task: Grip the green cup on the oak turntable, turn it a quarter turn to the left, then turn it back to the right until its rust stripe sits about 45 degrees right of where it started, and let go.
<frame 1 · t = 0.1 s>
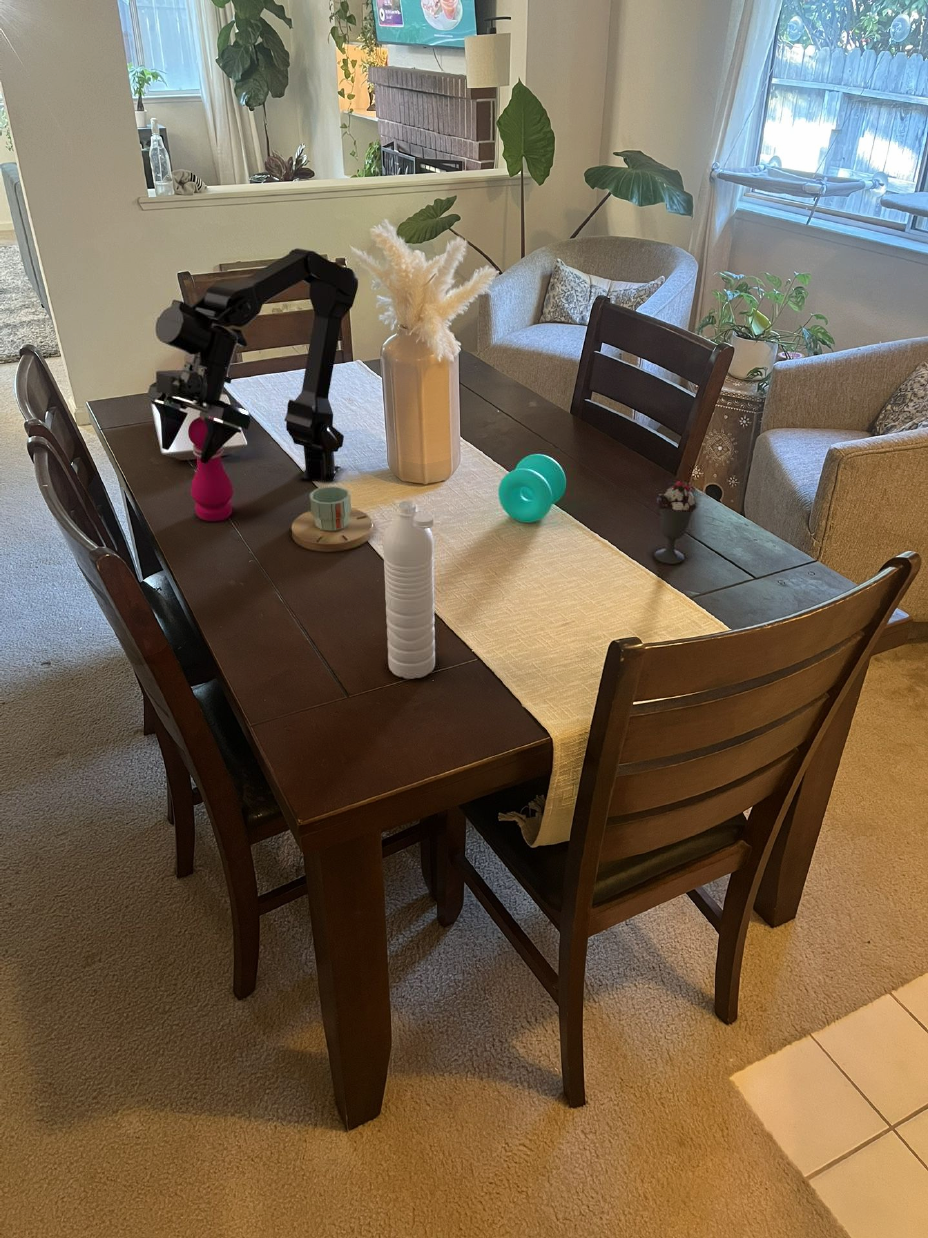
hand: (183, 455, 151), 15 cm above the table, tool tilted 35°, fingers open, 9 cm apart
teal yo-yo: (531, 514, 167), on the table
sundae: (669, 557, 154), on the table
water bottle: (415, 671, 127), on the table
green cup: (330, 509, 158), point 4 cm above the table, hinge at 0.0°
pepper mill: (214, 513, 166), on the table
turntable: (332, 532, 160), on the table
tray: (198, 436, 197), on the table
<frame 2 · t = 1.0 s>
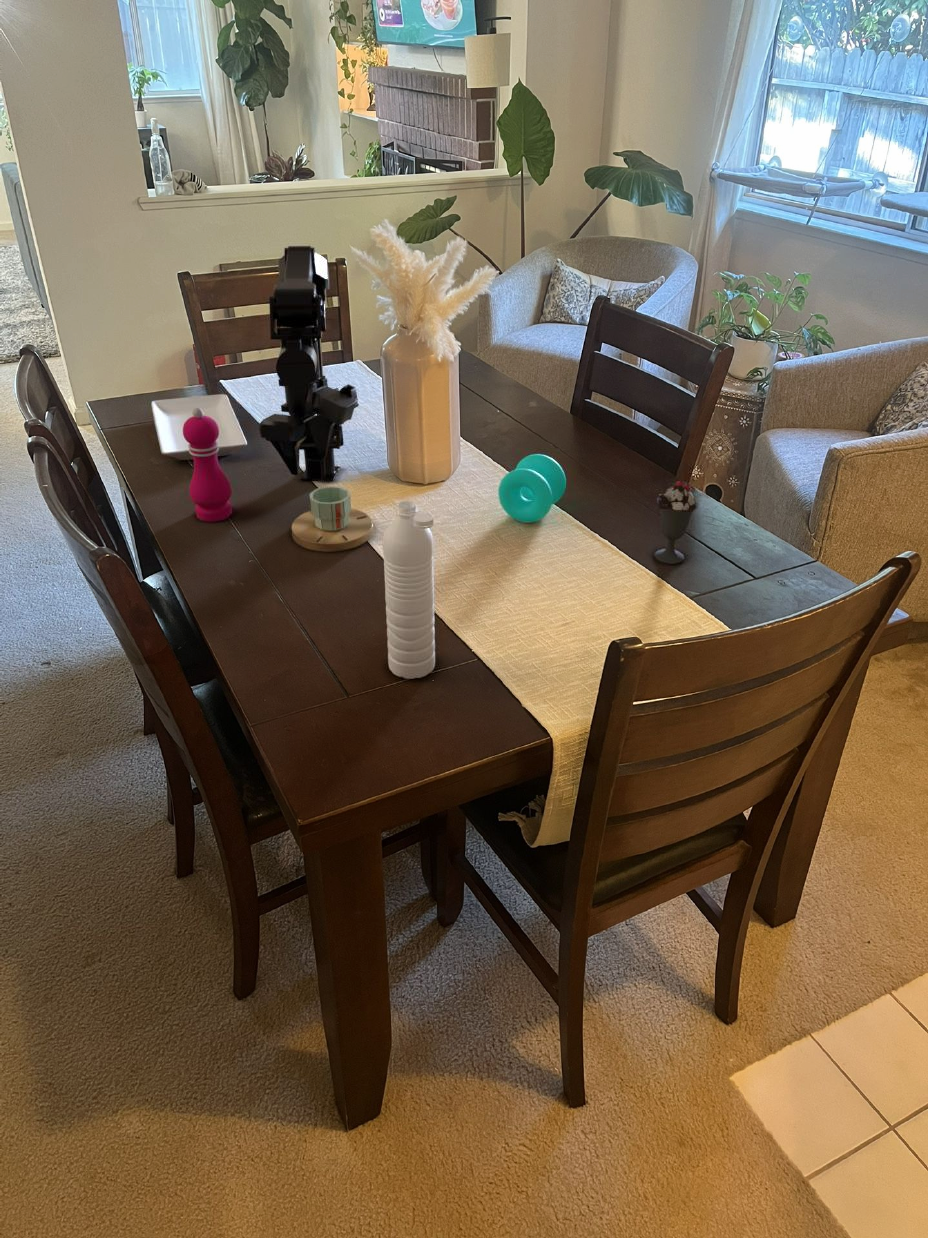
hand: (309, 465, 152), 13 cm above the table, tool pointing down, fingers open, 9 cm apart
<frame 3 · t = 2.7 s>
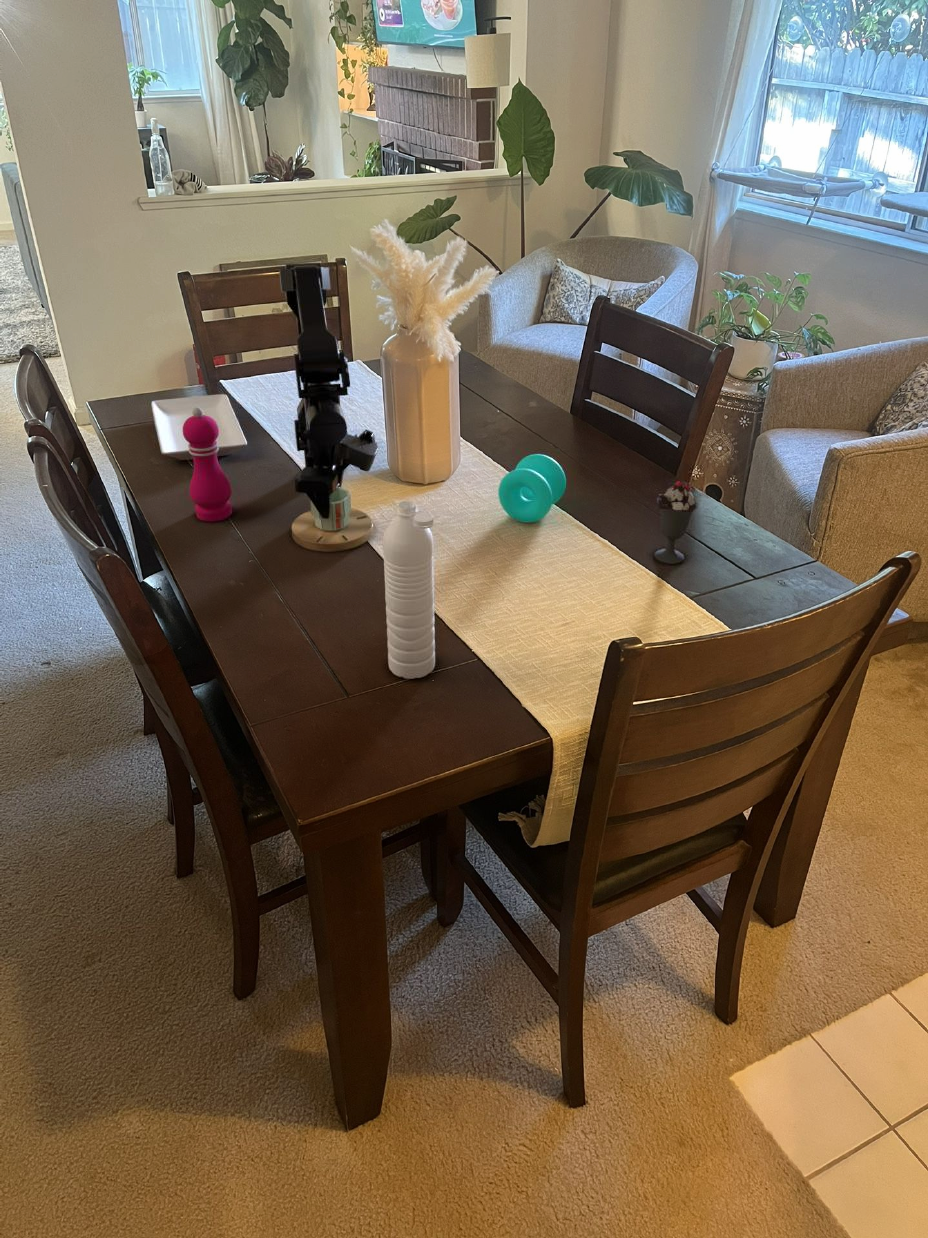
hand: (330, 508, 158), 5 cm above the table, tool pointing down, fingers closed on green cup, 7 cm apart
green cup: (330, 509, 158), point 4 cm above the table, hinge at 0.0°, touching gripper
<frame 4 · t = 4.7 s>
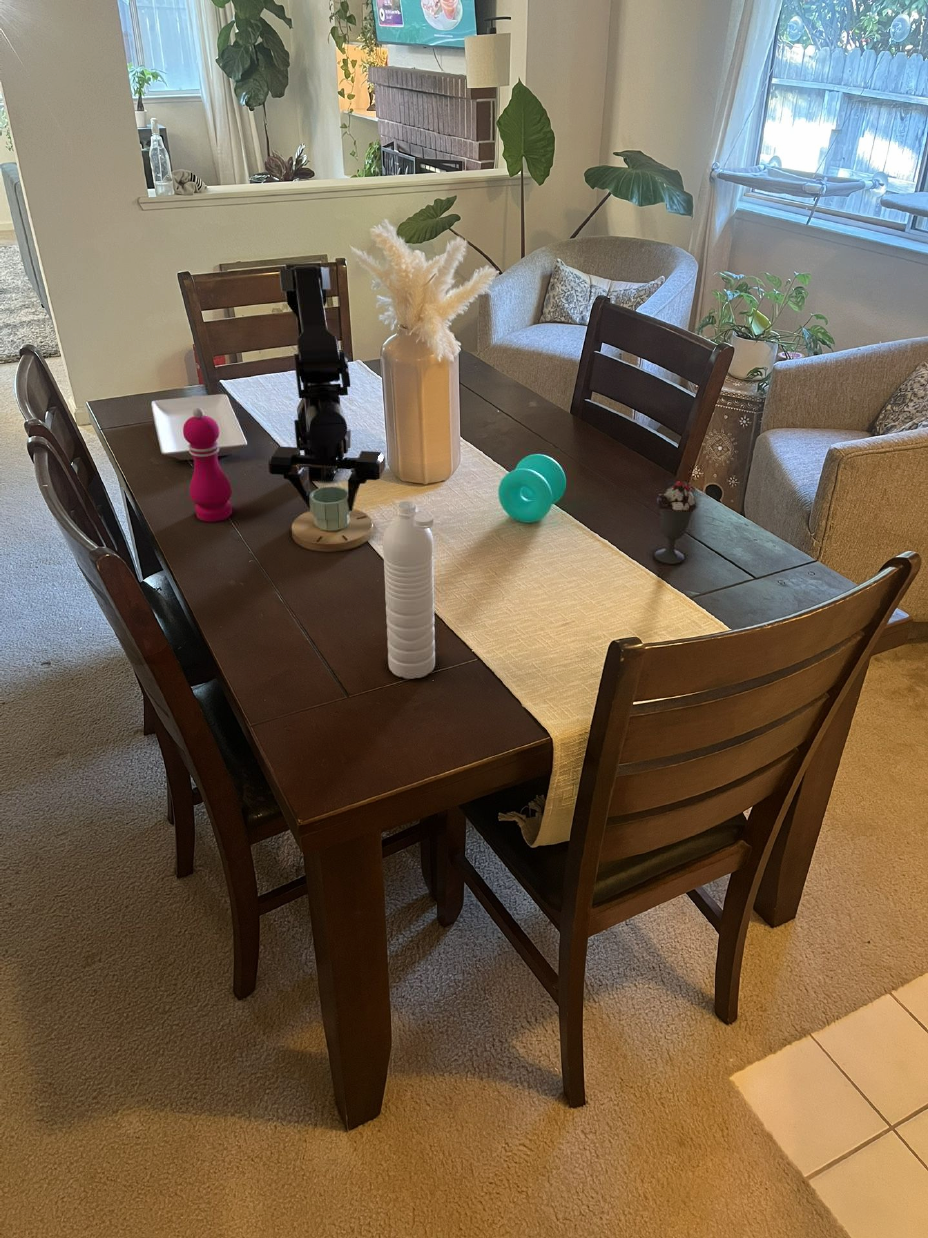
hand: (331, 508, 158), 5 cm above the table, tool pointing down, fingers closed on green cup, 7 cm apart
green cup: (330, 509, 158), point 4 cm above the table, hinge at 89.8°, touching gripper
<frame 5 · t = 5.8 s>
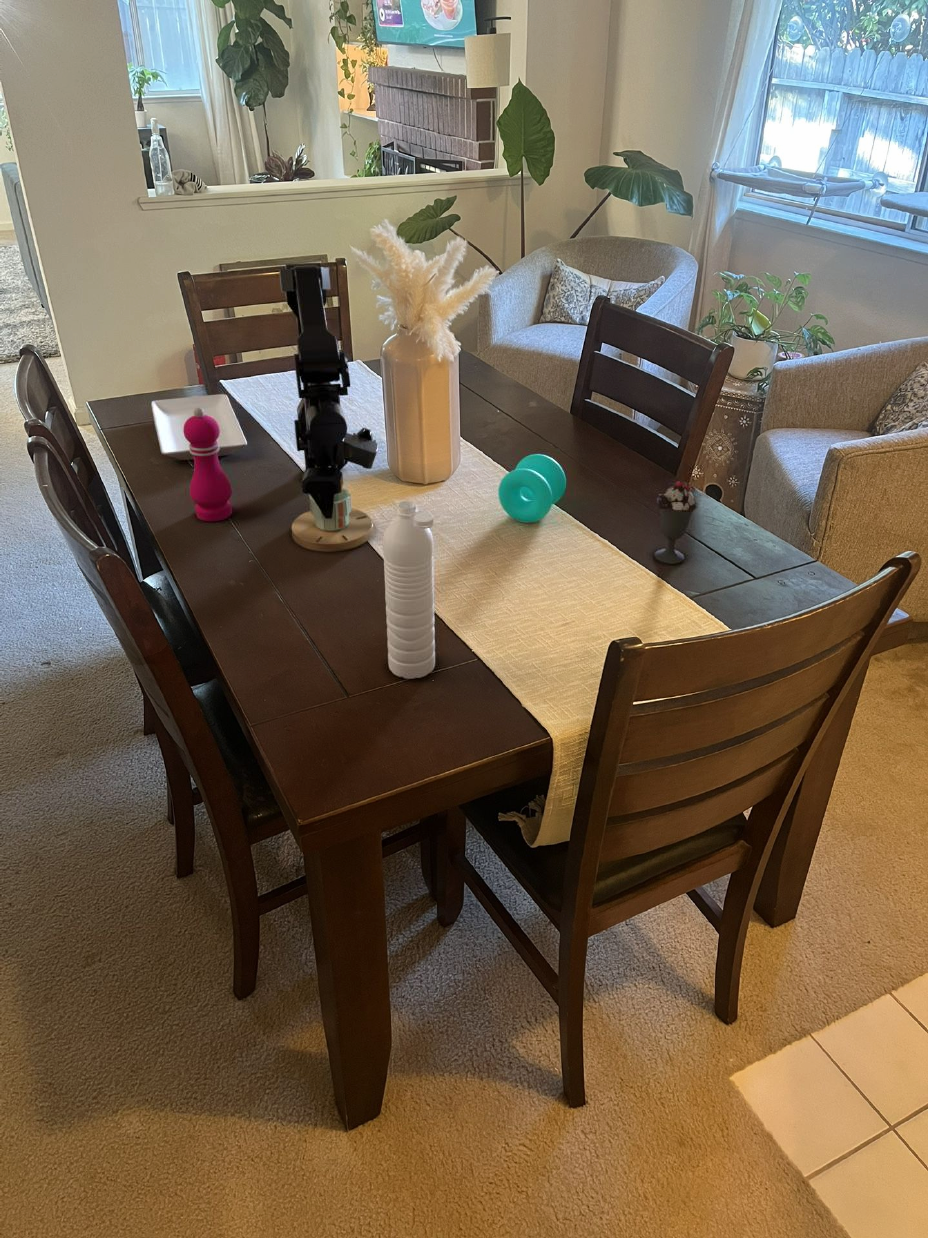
hand: (330, 508, 158), 5 cm above the table, tool pointing down, fingers closed on green cup, 7 cm apart
green cup: (330, 509, 158), point 4 cm above the table, hinge at 8.1°, touching gripper
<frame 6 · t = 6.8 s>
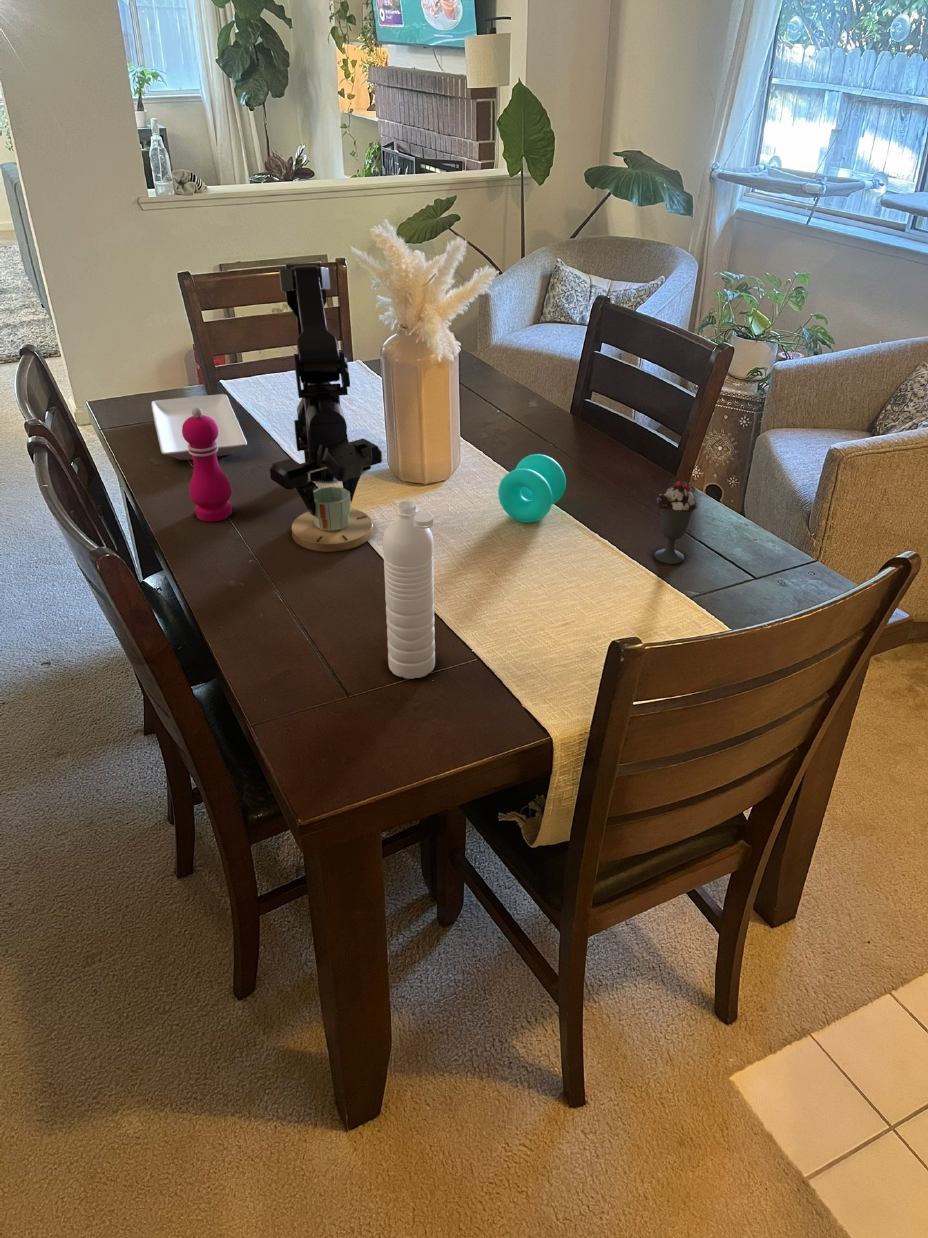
hand: (330, 509, 158), 4 cm above the table, tool pointing down, fingers closed on green cup, 7 cm apart
green cup: (330, 509, 158), point 4 cm above the table, hinge at -44.4°, touching gripper
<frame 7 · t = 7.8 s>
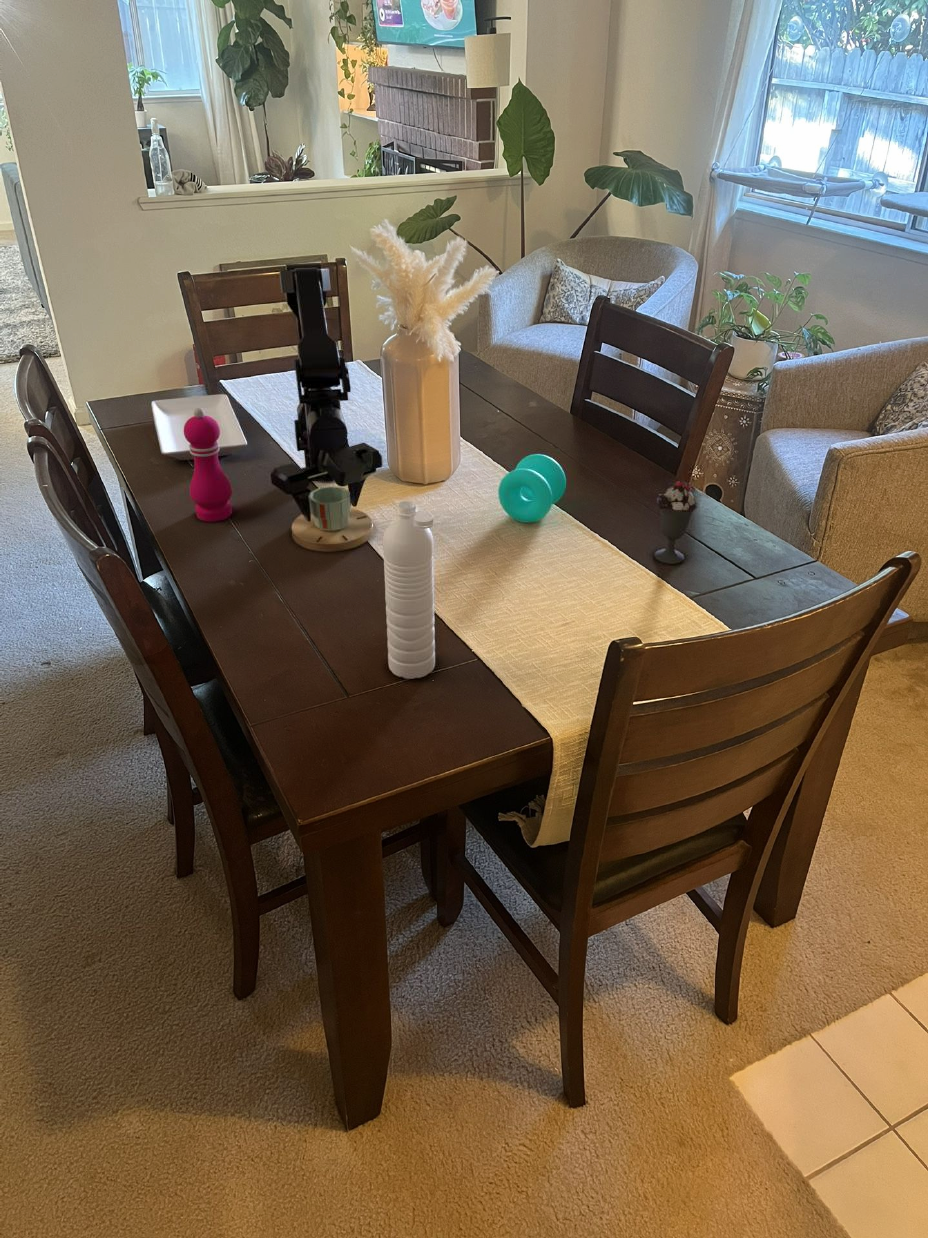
hand: (331, 513, 158), 4 cm above the table, tool pointing down, fingers open, 9 cm apart
green cup: (330, 509, 158), point 4 cm above the table, hinge at -44.5°
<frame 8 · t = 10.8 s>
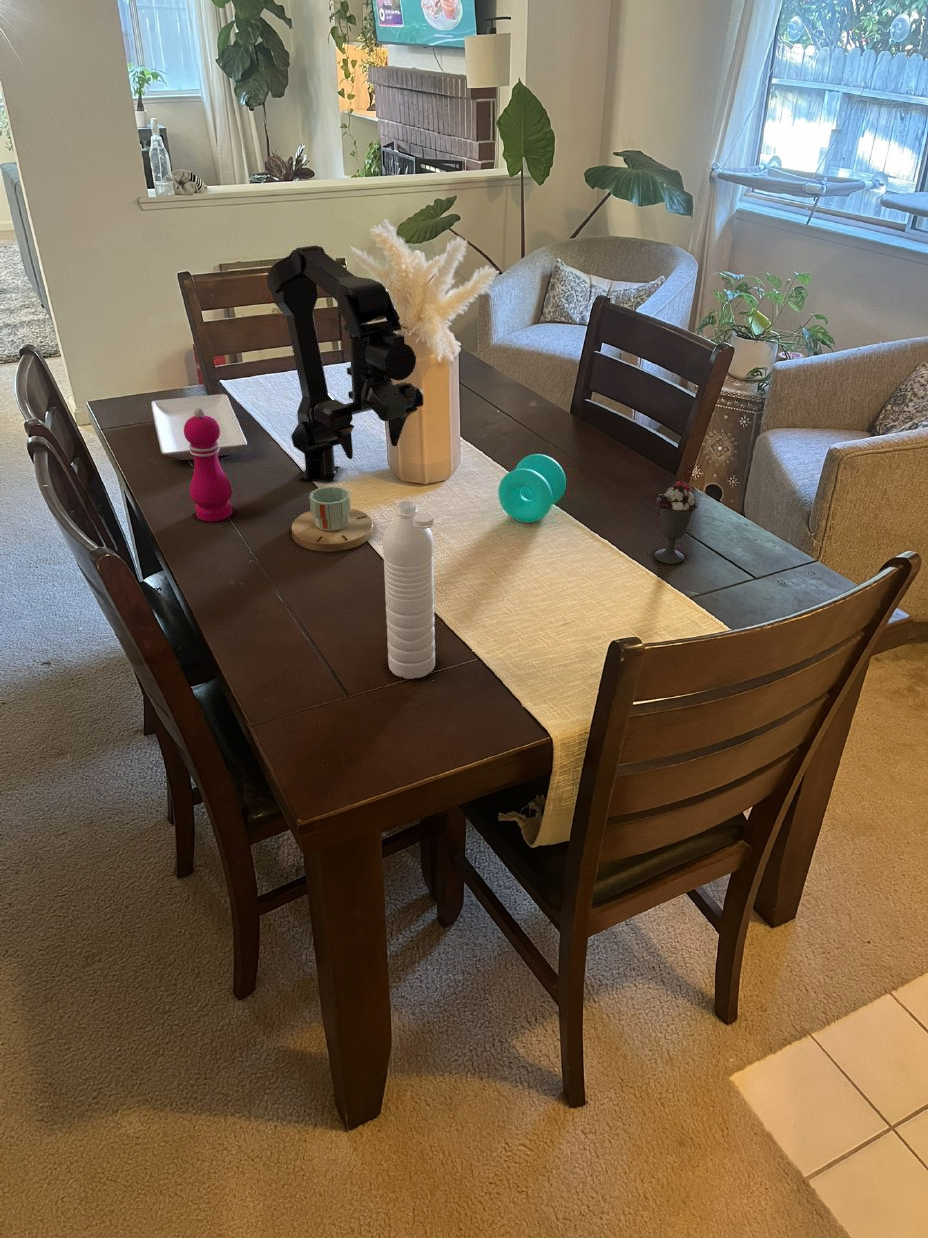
hand: (372, 451, 160), 12 cm above the table, tool pointing down, fingers open, 9 cm apart
at the end: green cup reached +90° during the clip, -44° at the end; green cup at -44° (first picture: +0°); the gripper is holding nothing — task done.
